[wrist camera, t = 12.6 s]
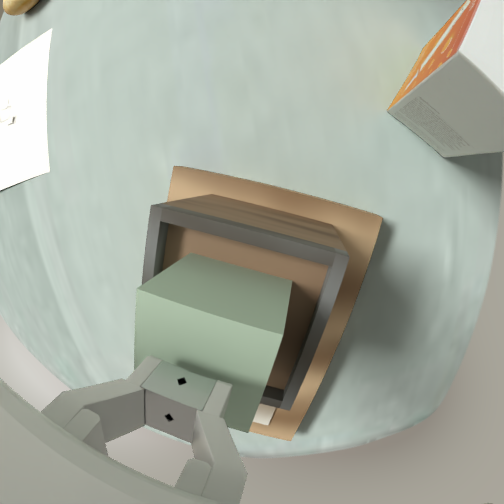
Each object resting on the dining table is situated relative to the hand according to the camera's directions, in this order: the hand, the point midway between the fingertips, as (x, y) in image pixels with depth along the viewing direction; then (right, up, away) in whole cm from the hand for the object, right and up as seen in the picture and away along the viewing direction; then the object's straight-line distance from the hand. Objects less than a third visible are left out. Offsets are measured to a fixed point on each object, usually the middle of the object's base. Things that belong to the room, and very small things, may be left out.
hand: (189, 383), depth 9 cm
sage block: (+1, +1, +5) cm, 6 cm away
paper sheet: (-23, +23, +16) cm, 36 cm away
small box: (+17, +17, +9) cm, 26 cm away
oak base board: (+2, -2, +17) cm, 17 cm away
